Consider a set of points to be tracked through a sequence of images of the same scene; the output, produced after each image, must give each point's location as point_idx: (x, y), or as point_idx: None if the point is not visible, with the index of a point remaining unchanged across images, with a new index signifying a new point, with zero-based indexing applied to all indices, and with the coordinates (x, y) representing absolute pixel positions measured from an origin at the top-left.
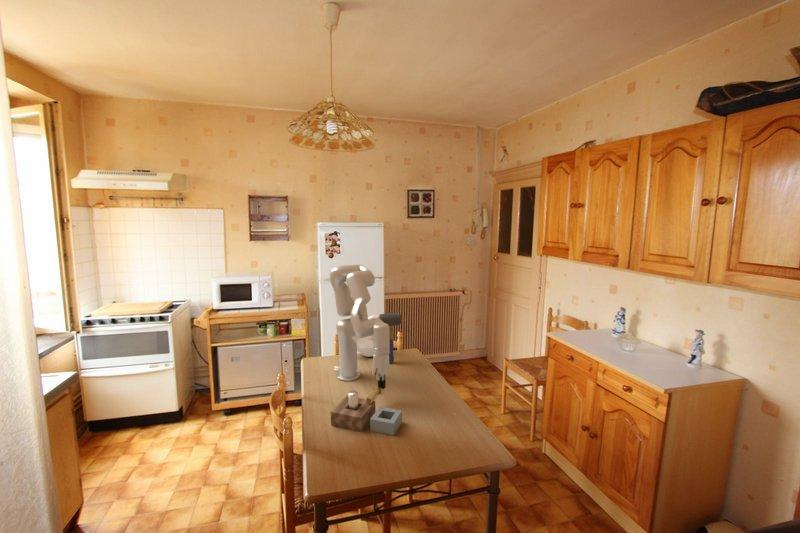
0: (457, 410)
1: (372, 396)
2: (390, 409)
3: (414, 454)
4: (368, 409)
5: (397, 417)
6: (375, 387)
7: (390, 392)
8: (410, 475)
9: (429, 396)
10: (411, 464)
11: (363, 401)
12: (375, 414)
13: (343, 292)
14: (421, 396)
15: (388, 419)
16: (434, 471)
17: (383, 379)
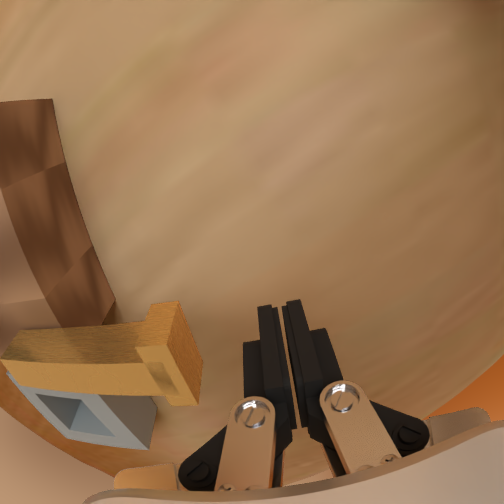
0: (327, 462)
1: (40, 386)
2: (115, 422)
3: (81, 442)
4: None
5: (101, 444)
6: (162, 355)
7: (410, 236)
8: (43, 438)
9: (402, 395)
10: (59, 439)
11: (17, 292)
12: None
13: None
14: (397, 378)
15: (64, 425)
16: (84, 461)
17: (279, 449)
